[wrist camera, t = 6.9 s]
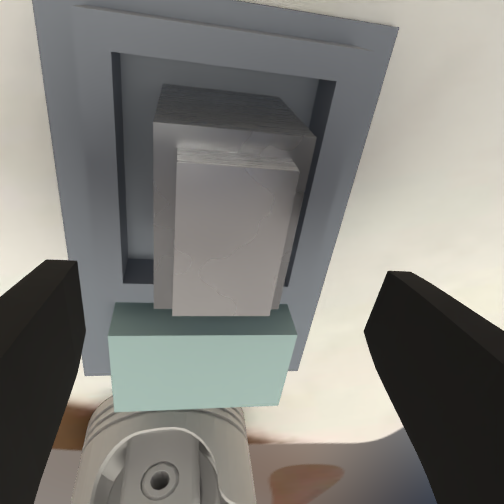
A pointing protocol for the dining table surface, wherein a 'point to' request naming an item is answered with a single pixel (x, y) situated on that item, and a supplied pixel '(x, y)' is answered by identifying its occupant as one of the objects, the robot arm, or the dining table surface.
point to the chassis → (141, 177)
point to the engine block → (225, 199)
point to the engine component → (165, 458)
